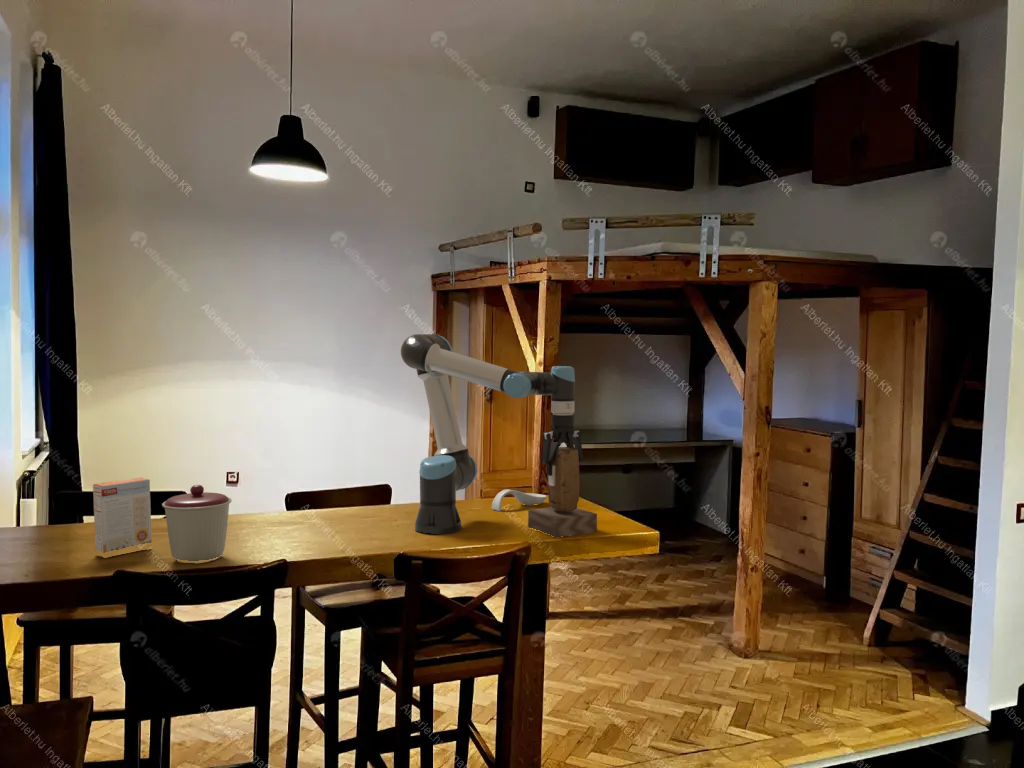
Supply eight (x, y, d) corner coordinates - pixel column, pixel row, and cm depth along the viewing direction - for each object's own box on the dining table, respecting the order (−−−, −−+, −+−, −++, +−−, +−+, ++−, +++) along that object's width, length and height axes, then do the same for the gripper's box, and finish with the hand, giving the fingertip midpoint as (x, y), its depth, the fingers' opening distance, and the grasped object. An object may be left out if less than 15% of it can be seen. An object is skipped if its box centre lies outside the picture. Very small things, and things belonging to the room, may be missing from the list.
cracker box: (142, 546, 241) (141, 476, 240) (152, 549, 237) (151, 478, 236) (94, 555, 230) (92, 483, 229) (103, 559, 226) (101, 485, 225)
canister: (226, 548, 239) (225, 477, 238) (237, 563, 223) (236, 487, 222) (160, 556, 230) (158, 482, 229) (166, 572, 214) (165, 493, 213)
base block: (555, 538, 252) (556, 519, 252) (528, 528, 266) (528, 510, 265) (596, 532, 260) (597, 513, 260) (568, 522, 274) (568, 505, 274)
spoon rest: (531, 500, 314) (531, 482, 314) (553, 505, 305) (553, 486, 305) (485, 509, 298) (485, 489, 298) (506, 514, 289) (506, 494, 289)
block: (581, 511, 260) (581, 449, 259) (560, 513, 256) (561, 450, 255) (563, 505, 269) (564, 445, 268) (544, 507, 266) (544, 446, 265)
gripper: (542, 416, 253) (542, 488, 254) (595, 413, 263) (594, 483, 265) (529, 414, 259) (529, 485, 260) (581, 411, 270) (580, 479, 271)
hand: (562, 484), depth 262 cm, fingers closed on block, 7 cm apart
